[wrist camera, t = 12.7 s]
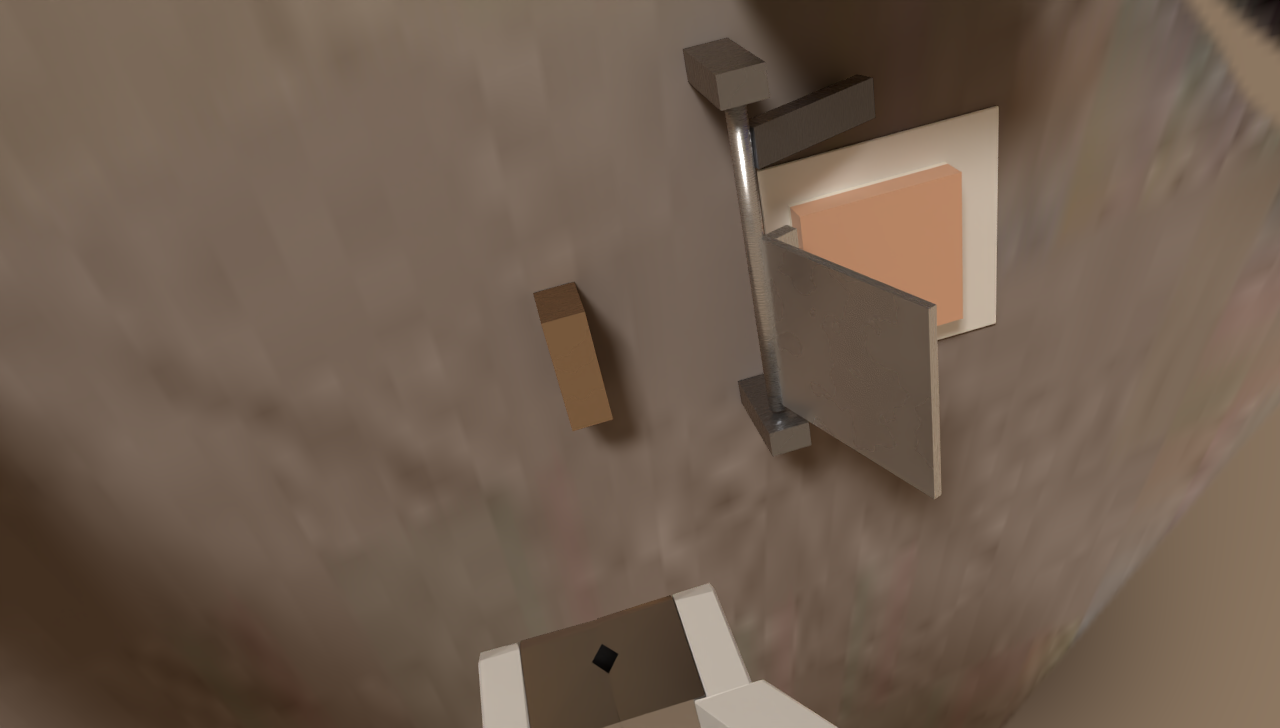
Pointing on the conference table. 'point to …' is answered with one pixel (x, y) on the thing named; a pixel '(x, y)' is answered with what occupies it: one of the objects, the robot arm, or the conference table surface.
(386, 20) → the conference table surface
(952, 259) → the tile
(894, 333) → the flipper
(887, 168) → the mat
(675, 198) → the conference table surface
